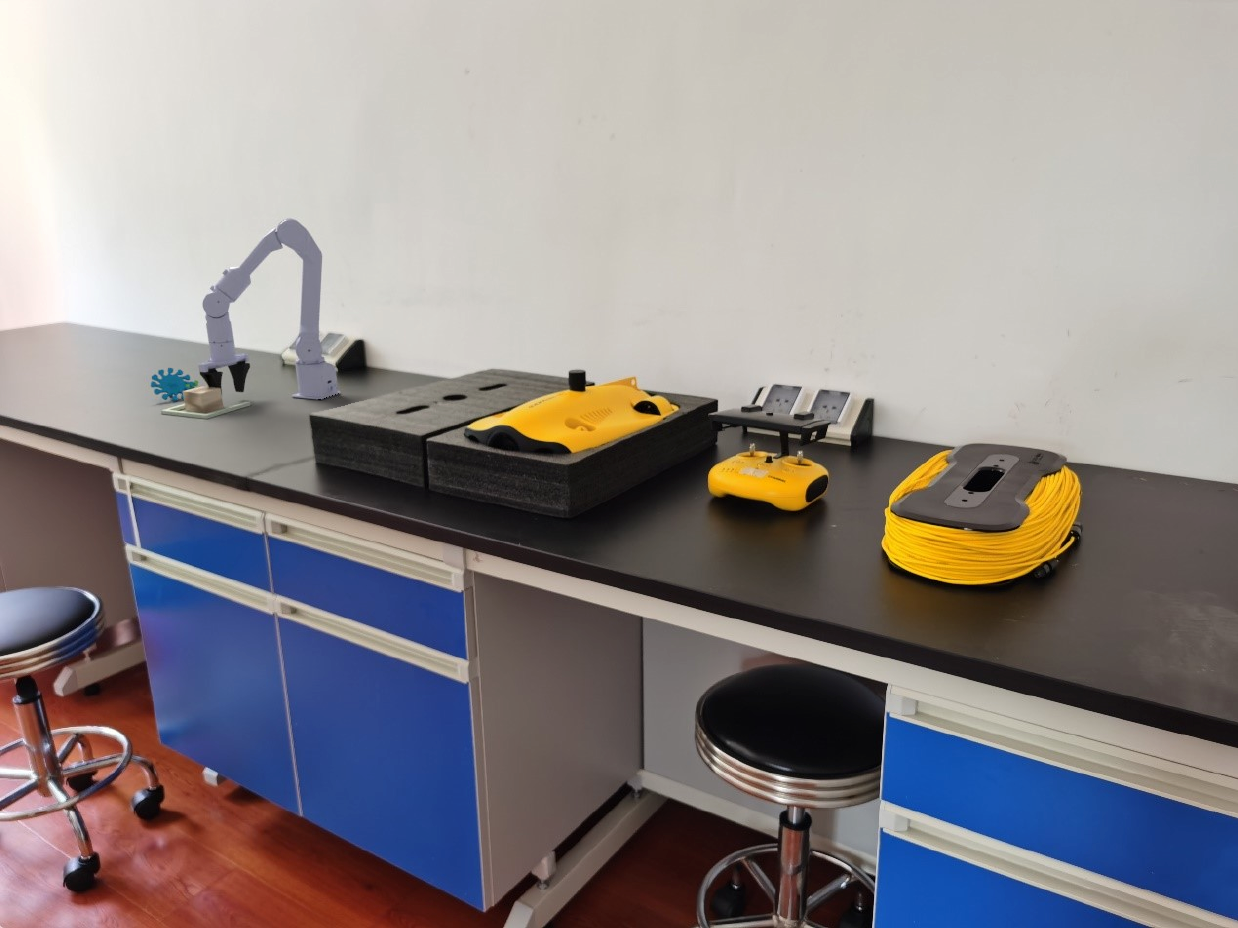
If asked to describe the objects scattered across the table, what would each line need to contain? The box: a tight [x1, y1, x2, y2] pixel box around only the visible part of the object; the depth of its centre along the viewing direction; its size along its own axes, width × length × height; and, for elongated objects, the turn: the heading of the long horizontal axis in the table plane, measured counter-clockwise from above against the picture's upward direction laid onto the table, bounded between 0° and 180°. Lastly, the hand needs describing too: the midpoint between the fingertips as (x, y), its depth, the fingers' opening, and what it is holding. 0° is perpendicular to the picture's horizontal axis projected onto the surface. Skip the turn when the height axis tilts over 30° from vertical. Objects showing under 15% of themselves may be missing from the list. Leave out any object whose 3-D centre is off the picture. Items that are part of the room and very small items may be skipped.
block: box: [183, 385, 224, 414], centre depth 220 cm, size 6×6×5 cm
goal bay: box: [160, 401, 251, 420], centre depth 221 cm, size 14×14×1 cm
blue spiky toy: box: [150, 367, 199, 402], centre depth 233 cm, size 11×6×10 cm
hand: (228, 395), depth 228 cm, fingers open, 7 cm apart
